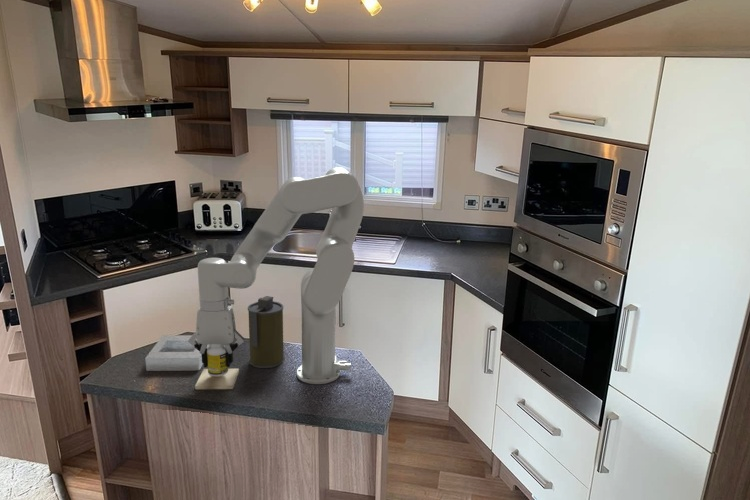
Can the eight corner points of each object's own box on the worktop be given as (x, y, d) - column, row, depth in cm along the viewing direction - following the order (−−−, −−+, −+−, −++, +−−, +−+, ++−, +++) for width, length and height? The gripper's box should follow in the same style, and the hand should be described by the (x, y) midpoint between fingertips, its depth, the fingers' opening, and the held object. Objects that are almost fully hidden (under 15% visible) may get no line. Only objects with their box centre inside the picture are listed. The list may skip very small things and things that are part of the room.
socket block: (211, 346, 172) (211, 335, 171) (199, 370, 156) (198, 357, 155) (163, 347, 171) (162, 335, 170) (146, 370, 155) (145, 358, 154)
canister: (263, 350, 170) (261, 290, 165) (290, 357, 166) (290, 296, 161) (241, 364, 161) (238, 301, 156) (270, 372, 157) (268, 307, 152)
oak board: (239, 371, 156) (239, 368, 156) (232, 388, 147) (232, 385, 146) (203, 371, 156) (203, 368, 155) (195, 389, 146) (195, 386, 146)
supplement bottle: (222, 378, 147) (220, 345, 145) (204, 376, 148) (202, 343, 146) (231, 369, 153) (230, 337, 150) (214, 367, 154) (212, 335, 151)
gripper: (248, 298, 150) (251, 358, 154) (185, 299, 148) (189, 359, 153) (244, 308, 142) (246, 371, 147) (178, 308, 141) (182, 371, 146)
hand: (217, 364), depth 150 cm, fingers closed on supplement bottle, 5 cm apart
